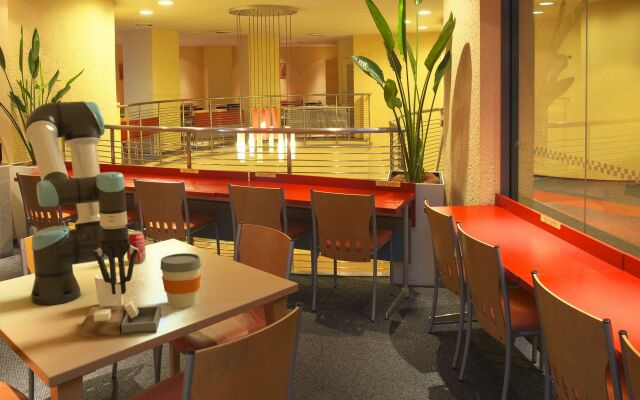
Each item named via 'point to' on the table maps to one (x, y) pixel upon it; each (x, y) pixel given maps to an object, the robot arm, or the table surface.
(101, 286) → the white cup
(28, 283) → the table surface
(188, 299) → the reusable coffee cup
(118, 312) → the walnut block
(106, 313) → the cream tile
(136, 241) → the soda can
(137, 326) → the box
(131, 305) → the cream tile
